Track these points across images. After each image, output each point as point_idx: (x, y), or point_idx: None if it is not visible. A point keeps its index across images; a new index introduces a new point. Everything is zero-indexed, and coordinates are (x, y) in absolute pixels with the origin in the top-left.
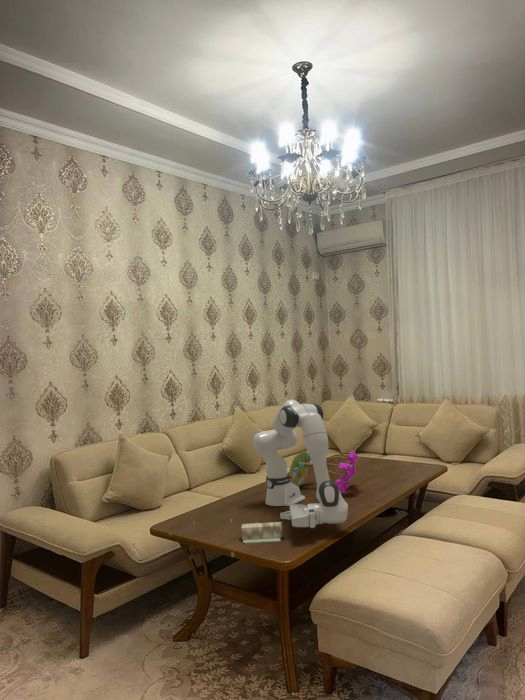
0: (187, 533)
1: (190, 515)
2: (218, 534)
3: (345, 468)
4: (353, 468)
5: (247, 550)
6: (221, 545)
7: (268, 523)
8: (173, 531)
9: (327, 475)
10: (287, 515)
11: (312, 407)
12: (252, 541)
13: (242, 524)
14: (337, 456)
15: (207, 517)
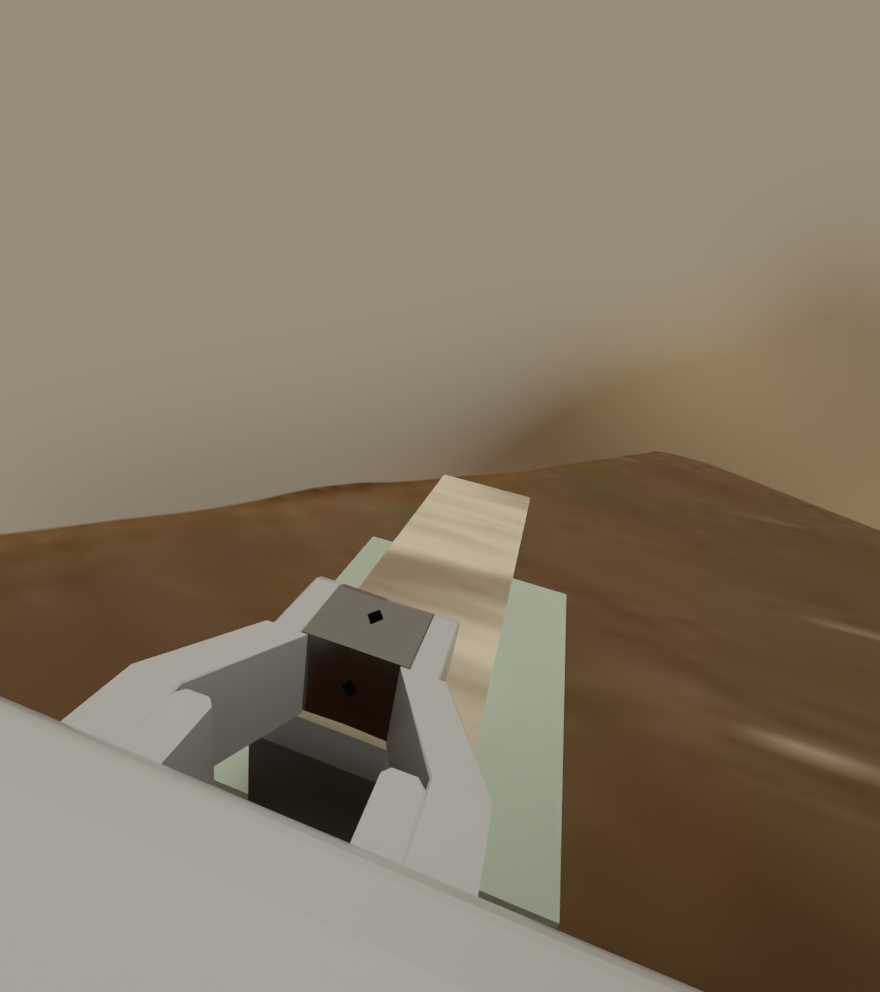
0: (609, 475)
1: (867, 535)
2: (577, 523)
3: None
4: None
5: (242, 523)
6: (410, 489)
7: (465, 618)
8: (637, 464)
9: None
10: (170, 667)
11: None
12: (353, 571)
13: (520, 496)
14: None
15: (866, 566)
